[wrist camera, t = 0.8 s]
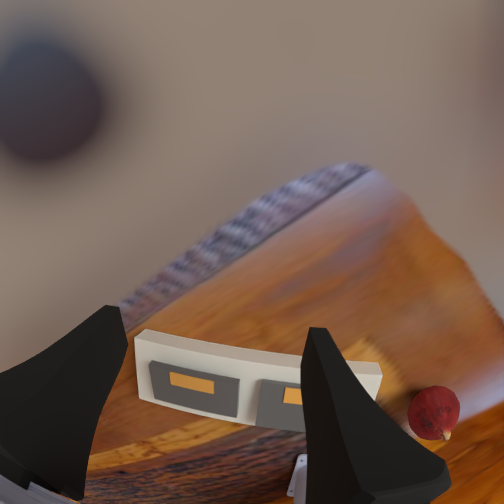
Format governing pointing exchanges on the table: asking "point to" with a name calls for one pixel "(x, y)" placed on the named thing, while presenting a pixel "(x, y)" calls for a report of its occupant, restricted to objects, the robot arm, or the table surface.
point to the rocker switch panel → (229, 369)
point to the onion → (434, 413)
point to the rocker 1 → (195, 389)
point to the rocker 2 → (280, 406)
